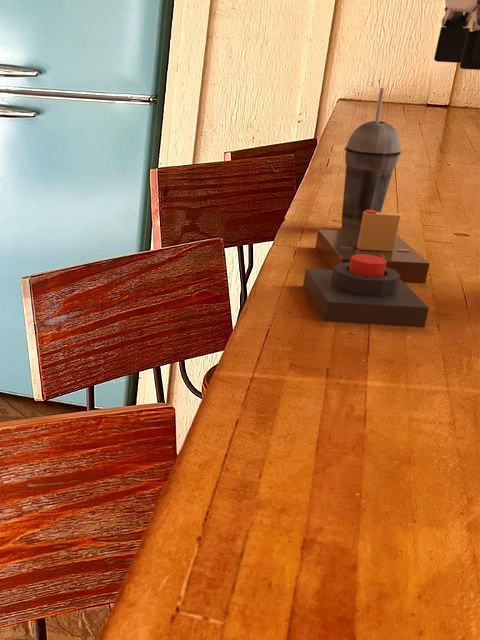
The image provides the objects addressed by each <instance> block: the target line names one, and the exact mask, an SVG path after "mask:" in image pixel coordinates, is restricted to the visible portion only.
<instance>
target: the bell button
mask: <svg viewBox="0 0 480 640" xmlns="http://www.w3.org/2000/svg"><path fill="white" fill-rule="evenodd" d="M386 263H387V260H386V259H384V258H382V257H379V256H374V255H367V254H357V255H353V256H351V260H350V266H349V271H348V272H351V273H354V274H357V275H362V276H370V277H381V276H384V273H385V268H386Z"/></svg>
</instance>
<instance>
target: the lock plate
mask: <svg viewBox="0 0 480 640" xmlns="http://www.w3.org/2000/svg"><path fill="white" fill-rule="evenodd" d="M316 233H317V234H316V241H315V245H314V248H315V249H316V251H317V252H318V253H319V254H320V255H321V257H322V258H323V260H325V262H326V263H327V265H328V266H329V267H330V269H331V270H333V269H334V267H335V266H336V265H338V264H339V263H347V262H350V260H351V256H353V255H357V254H367V255H374V256H379V257H382V258H384V259H386V260H387V263H386V267H387V268H390V269H393V270H395V271H396V272H397V273H398V274H399V275H400V279H401V280H402V281H403V282H404V283H414V284H415V283H417V284H426V282H427V277H428V272H429V269H430V264H431V263H430V262H429V261H428V260H426V259H425V258H424V257H423V256H422V255H421V254H419V252H418V251H416V249H414V248H413V247H412V246H410V245H409V244H408V242H406V241H404V239H402V238H401V237H400V236H399V235H398V234H397V235H396V240H395V245H394V250H393V251H375V250H360V249H359V248H358V247H357V243H358V238H359V233H360V232H356V231H341V230H335V229H334V230H333V229H317V232H316Z"/></svg>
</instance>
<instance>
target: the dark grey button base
mask: <svg viewBox="0 0 480 640" xmlns="http://www.w3.org/2000/svg"><path fill="white" fill-rule="evenodd" d="M349 266H350V262H347V263H339V264H338V265H336V266H335V267H334V269H333V270H332V269H323V268H305V271H304V276H303V284H302V287H303V289H304V290H305V292H306V294H307V295H308V297H309V298H310V300H311V301H312V303H313V305H314V307H315V308H316V309H317V311H318V312H319V314H320V316H321V317H322V319H323V320H324V322H330V323H331V322H333V323H348V324H363V325H364V324H365V325H366V324H367V325H382V326H383V325H384V326H397V327H398V326H399V327H414V328H425V327H426V323H427V318H428V314H429V309H430V307H429V306H428V305H427V304H426V303H425V302H424V301H423V300H422V299H421V298H420V297H419V296H418V295H417V294H416V293H415V292H414V291H413V290H412V289H411V288H410V287H409V285H407V284H406V282H403V281H402V280H401V279H400V275H399V274H398V273H397V272H396V271H395V270H393V269H390V268H387V267H386V268H385V273H384V276H381V277H370V276H362V275H357V274H354V273H351V272H348V271H349Z"/></svg>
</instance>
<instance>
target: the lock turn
mask: <svg viewBox="0 0 480 640" xmlns="http://www.w3.org/2000/svg"><path fill="white" fill-rule="evenodd" d="M400 219H401V215H400V214H399V213H398V212H389V211H388V212H387V211H381V212H376V211H375V210H366V211H363V216H362V222H361V227H360V233H359V238H358V243H357V247H358V248H359V249H360V250H375V251H393V250H394V245H395V240H396V235H398V234H397V233H398V230H399V225H400Z"/></svg>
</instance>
